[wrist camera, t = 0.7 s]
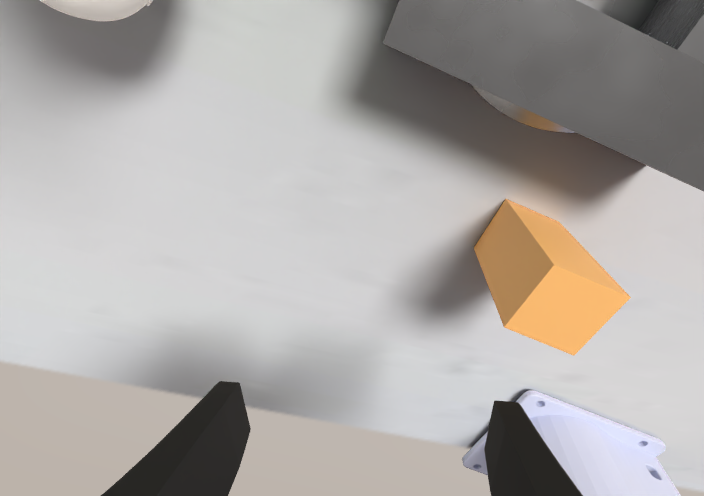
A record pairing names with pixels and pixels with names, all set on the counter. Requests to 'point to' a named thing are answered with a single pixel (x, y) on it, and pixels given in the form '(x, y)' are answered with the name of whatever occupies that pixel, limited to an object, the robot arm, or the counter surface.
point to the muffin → (98, 8)
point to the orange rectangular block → (545, 279)
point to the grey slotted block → (577, 68)
